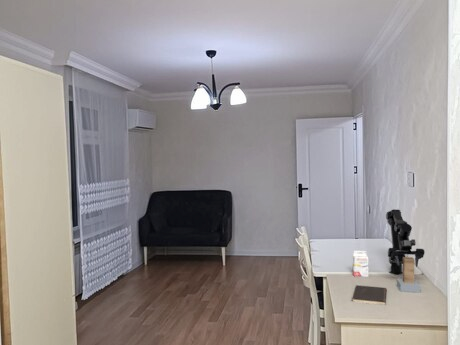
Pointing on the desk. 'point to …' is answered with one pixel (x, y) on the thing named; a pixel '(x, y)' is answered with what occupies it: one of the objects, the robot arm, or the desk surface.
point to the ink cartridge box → (360, 264)
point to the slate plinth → (408, 286)
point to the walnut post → (408, 270)
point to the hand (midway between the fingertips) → (408, 266)
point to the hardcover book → (370, 294)
